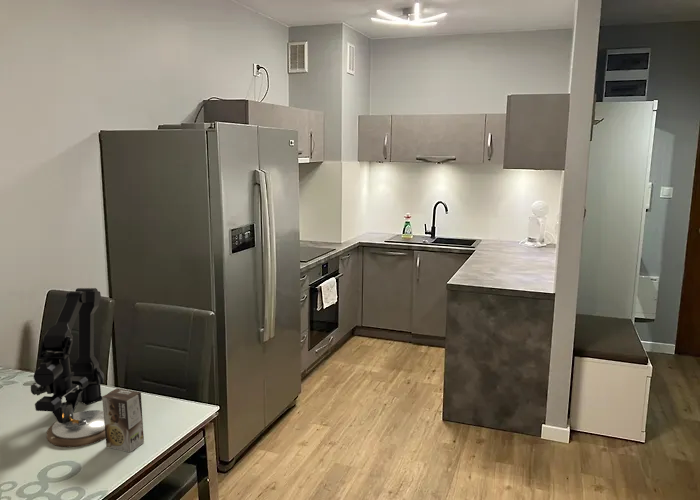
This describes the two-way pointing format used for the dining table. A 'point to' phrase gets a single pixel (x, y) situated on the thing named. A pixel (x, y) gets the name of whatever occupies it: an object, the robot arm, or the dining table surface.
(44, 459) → the dining table surface
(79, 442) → the dial base
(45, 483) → the dining table surface
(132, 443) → the coffee box
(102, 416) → the dial
